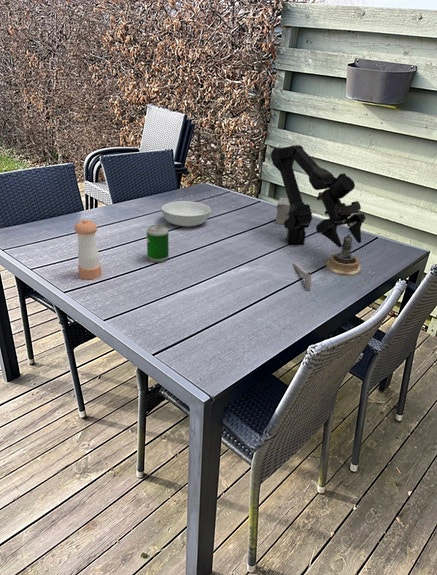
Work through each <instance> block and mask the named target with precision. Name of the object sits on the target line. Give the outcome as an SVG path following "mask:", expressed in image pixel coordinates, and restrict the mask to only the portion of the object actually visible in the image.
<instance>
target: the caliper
mask: <svg viewBox="0 0 437 575" xmlns="http://www.w3.org/2000/svg"><path fill="white" fill-rule="evenodd" d="M292 266H293V268H294V269H295V270H296V271H297V272H298V273H299V274H300V275H301V276H302V277H301V279H303V280H304V288H305V289H306V291H310V290H311V283H312V271H310V270H304V269H303V267H301V266H300V265H299V264H298V263H297V262H293V263H292Z"/></svg>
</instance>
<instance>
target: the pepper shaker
mask: <svg viewBox="0 0 437 575" xmlns="http://www.w3.org/2000/svg"><path fill="white" fill-rule="evenodd" d="M97 230H98V225H97V224H96V222H94V221H92V220H88V219H85V218H84V219H83V220H81V221H78V222H77V223H76V224H75V225H74V232H75V233H76V234H77V240H78V242H77V243H78V248H77V249H78V250H77V259H78V266H77V269H78V277H79V276H80V277H81V278H80V277H79V278H80V279H82V278H83V279H82V280H86V279H91V280H95V278H96V279H99V278H100V277H101V276H102V275H101V274H102V265H101V263H100V254H99V250H98V246H97V236H96V233H97ZM98 277H99V278H98Z"/></svg>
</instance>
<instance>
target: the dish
mask: <svg viewBox="0 0 437 575" xmlns="http://www.w3.org/2000/svg"><path fill="white" fill-rule="evenodd" d="M337 254H338V253H335V254H332V255H331V256H330V257H329V260H328V261H327V262H326V264H325V267H326V269H327V270H328V271H329V272H331V273H332V274H333V273H334V274H337V275H340V276H345V277H346V276H348V277H349V276H356V275H359V274H360V273H361V271H362V267H361V266H360V262H361V261H360V260H359V258H358V257H356V256H354V255H352V256H353V259H352V261H351V263H349V264H343V263H339V262H338V260H337Z"/></svg>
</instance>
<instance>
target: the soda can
mask: <svg viewBox="0 0 437 575" xmlns="http://www.w3.org/2000/svg"><path fill="white" fill-rule="evenodd" d="M146 245H147V246H146V247H147V249H146V250H147V253H146V254H147V258H148V260H150V261H151V262H153V263H163V262H166V261H167V259H168V258H169V256H170V254H169V251H170V250H169V229H168V228H167V227H166V226H165V225H162V224H153V225H150V226H149V227H148V228H147V229H146Z"/></svg>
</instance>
